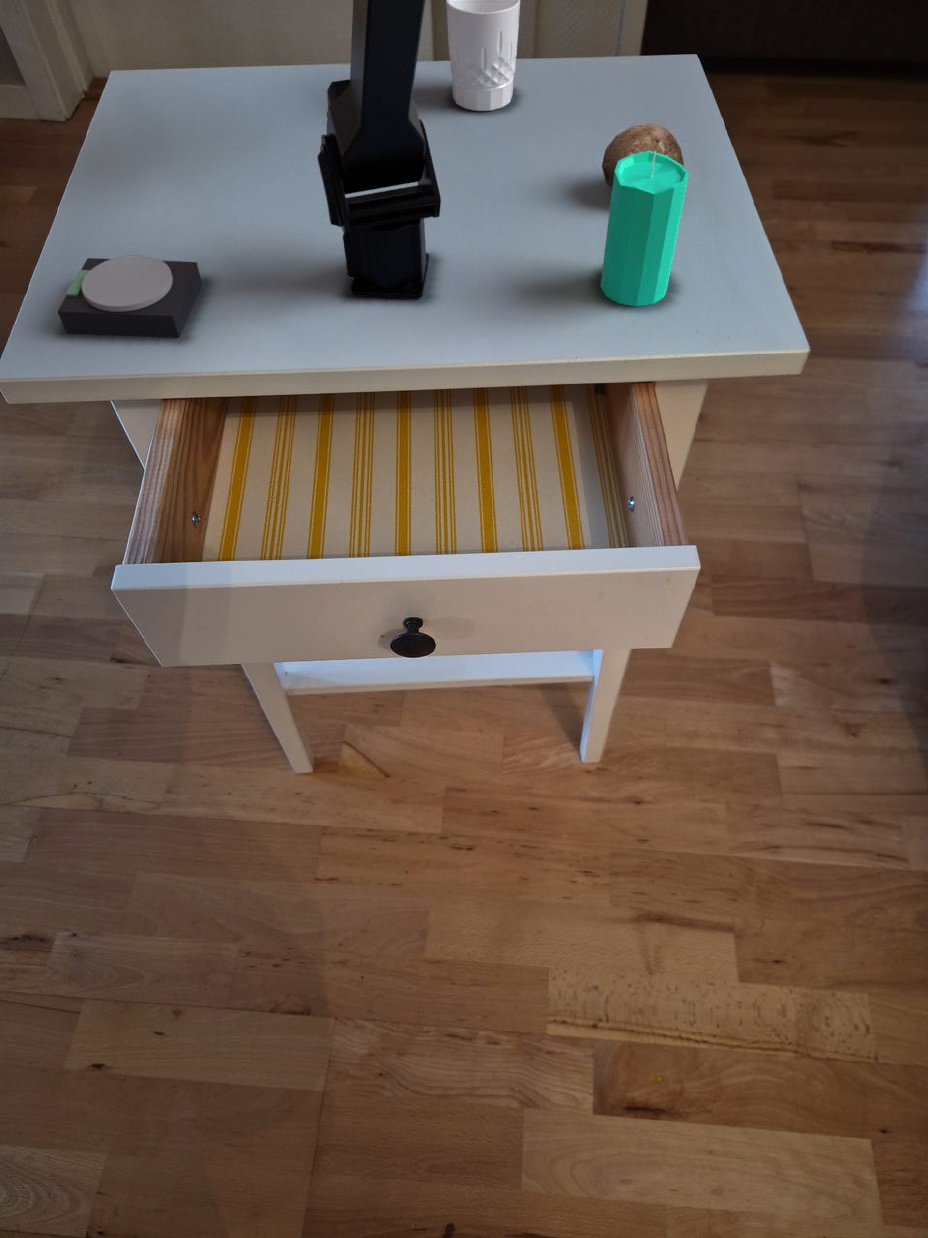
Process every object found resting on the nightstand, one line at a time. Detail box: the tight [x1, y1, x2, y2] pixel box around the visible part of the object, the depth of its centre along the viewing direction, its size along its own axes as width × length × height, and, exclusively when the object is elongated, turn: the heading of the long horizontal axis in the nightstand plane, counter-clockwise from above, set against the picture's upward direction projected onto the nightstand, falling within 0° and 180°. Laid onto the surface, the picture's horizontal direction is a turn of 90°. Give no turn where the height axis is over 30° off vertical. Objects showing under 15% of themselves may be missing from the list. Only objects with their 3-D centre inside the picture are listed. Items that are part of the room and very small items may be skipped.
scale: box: [56, 254, 203, 339], centre depth 79 cm, size 10×8×3 cm
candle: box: [599, 151, 690, 307], centre depth 76 cm, size 6×6×12 cm
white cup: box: [445, 0, 521, 112], centre depth 99 cm, size 8×8×10 cm
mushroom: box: [601, 123, 685, 191], centre depth 89 cm, size 8×8×6 cm
